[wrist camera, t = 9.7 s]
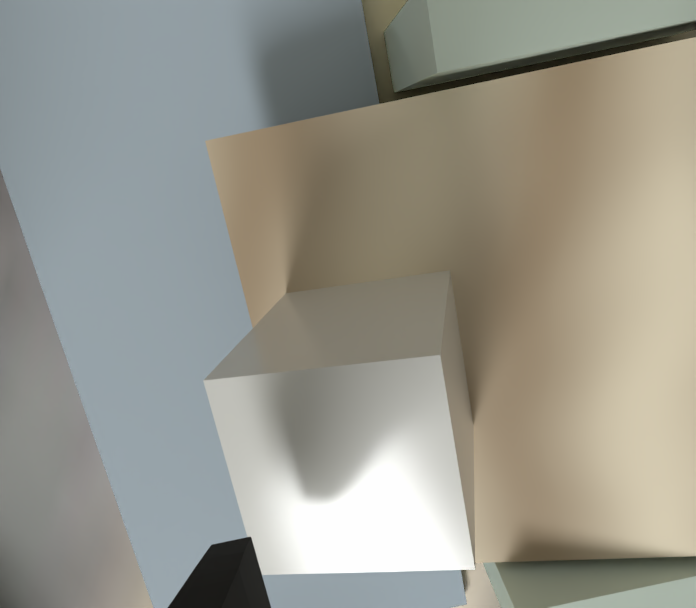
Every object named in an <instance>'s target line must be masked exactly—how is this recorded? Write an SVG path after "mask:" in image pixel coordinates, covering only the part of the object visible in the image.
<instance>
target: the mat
mask: <svg viewBox="0 0 696 608" xmlns="http://www.w3.org/2000/svg"><path fill="white" fill-rule="evenodd" d="M377 104H379V98H378V92H377V87H376V81H375V75H374V69H373V64H372V58H371V52H370V47H369V41H368V35H367V29H366V24H365V18H364V12H363V6H362V1H361V0H0V169H1V172H2V175H3V178H4V181H5V184H6V187H7V189H8V192H9V195H10V198H11V201H12V204H13V207H14V209H15V212H16V215H17V218H18V221H19V224H20V227H21V230H22V232H23V235H24V238H25V241H26V244H27V247H28V250H29V252H30V255H31V258H32V261H33V264H34V267H35V270H36V272H37V275H38V278H39V281H40V284H41V287H42V290H43V292H44V295H45V298H46V301H47V304H48V307H49V310H50V312H51V315H52V318H53V321H54V324H55V327H56V330H57V333H58V335H59V338H60V341H61V344H62V347H63V350H64V353H65V355H66V358H67V361H68V364H69V367H70V370H71V373H72V375H73V378H74V381H75V384H76V387H77V390H78V393H79V395H80V398H81V401H82V404H83V407H84V410H85V413H86V416H87V418H88V421H89V424H90V427H91V430H92V433H93V436H94V438H95V441H96V444H97V447H98V450H99V453H100V456H101V458H102V461H103V464H104V467H105V470H106V473H107V476H108V478H109V481H110V484H111V487H112V490H113V493H114V496H115V498H116V501H117V504H118V507H119V510H120V513H121V516H122V519H123V521H124V524H125V527H126V530H127V533H128V536H129V539H130V541H131V544H132V547H133V550H134V553H135V556H136V559H137V561H138V564H139V567H140V570H141V573H142V576H143V579H144V581H145V584H146V587H147V590H148V593H149V596H150V599H151V602H152V604H153V607H154V608H168V606H169V605H170V604H171V602H172V601H173V599H174V598H175V596H176V595H177V593H178V592H179V590H180V589H181V587H182V586H183V585H184V583H185V582H186V580H187V579H188V577H189V576H190V574H191V573H192V571H193V570H194V568H195V567H196V566H197V564H198V563H199V561H200V560H201V558H202V557H203V556H204V554H205V553H206V551H207V550H208V549H209V547H210V546H211V545H212V544H217V543H222V542H227V541H231V540H236V539H241V538H246V537H247V534H246V530H245V527H244V523H243V520H242V516H241V513H240V509H239V506H238V502H237V499H236V495H235V491H234V488H233V484H232V481H231V477H230V474H229V470H228V467H227V463H226V460H225V456H224V453H223V449H222V445H221V442H220V438H219V435H218V431H217V428H216V424H215V421H214V417H213V414H212V410H211V407H210V403H209V399H208V396H207V392H206V389H205V385H204V382H203V380H204V379H205V378H206V377H207V376H208V375H209V374H210V373H211V372H212V371H213V370H214V369H215V368H216V366H217V365H218V364H219V363H220V362H221V361H222V360H223V359H224V358H225V357H226V356H227V355H228V354H229V353H230V352H231V351H232V350H233V349H234V347H235V346H236V345H237V344H238V343H239V342H240V341H241V340H242V339H243V338H244V337H245V336H246V335H247V334H248V333H249V332H250V331H251V330H252V329H253V327H252V324H251V320H250V316H249V312H248V308H247V304H246V300H245V296H244V292H243V288H242V284H241V280H240V276H239V272H238V269H237V265H236V261H235V257H234V253H233V249H232V245H231V241H230V237H229V233H228V229H227V225H226V221H225V217H224V214H223V210H222V206H221V202H220V198H219V194H218V190H217V186H216V182H215V178H214V174H213V170H212V166H211V162H210V159H209V155H208V151H207V147H206V143H205V141H207V140H211V139H216V138H221V137H225V136H230V135H235V134H240V133H244V132H249V131H254V130H259V129H263V128H268V127H273V126H277V125H282V124H287V123H292V122H296V121H301V120H306V119H310V118H315V117H320V116H325V115H329V114H334V113H339V112H344V111H348V110H353V109H358V108H362V107H367V106H372V105H377ZM262 577H263V581H264V584H265V588H266V591H267V595H268V598H269V602H270V605H271V608H451V607H456V606H461V605H466V604H467V603H466V597H465V591H464V585H463V580H462V574H461V570H437V571H398V572H359V573H320V574H281V575H262Z"/></svg>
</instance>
